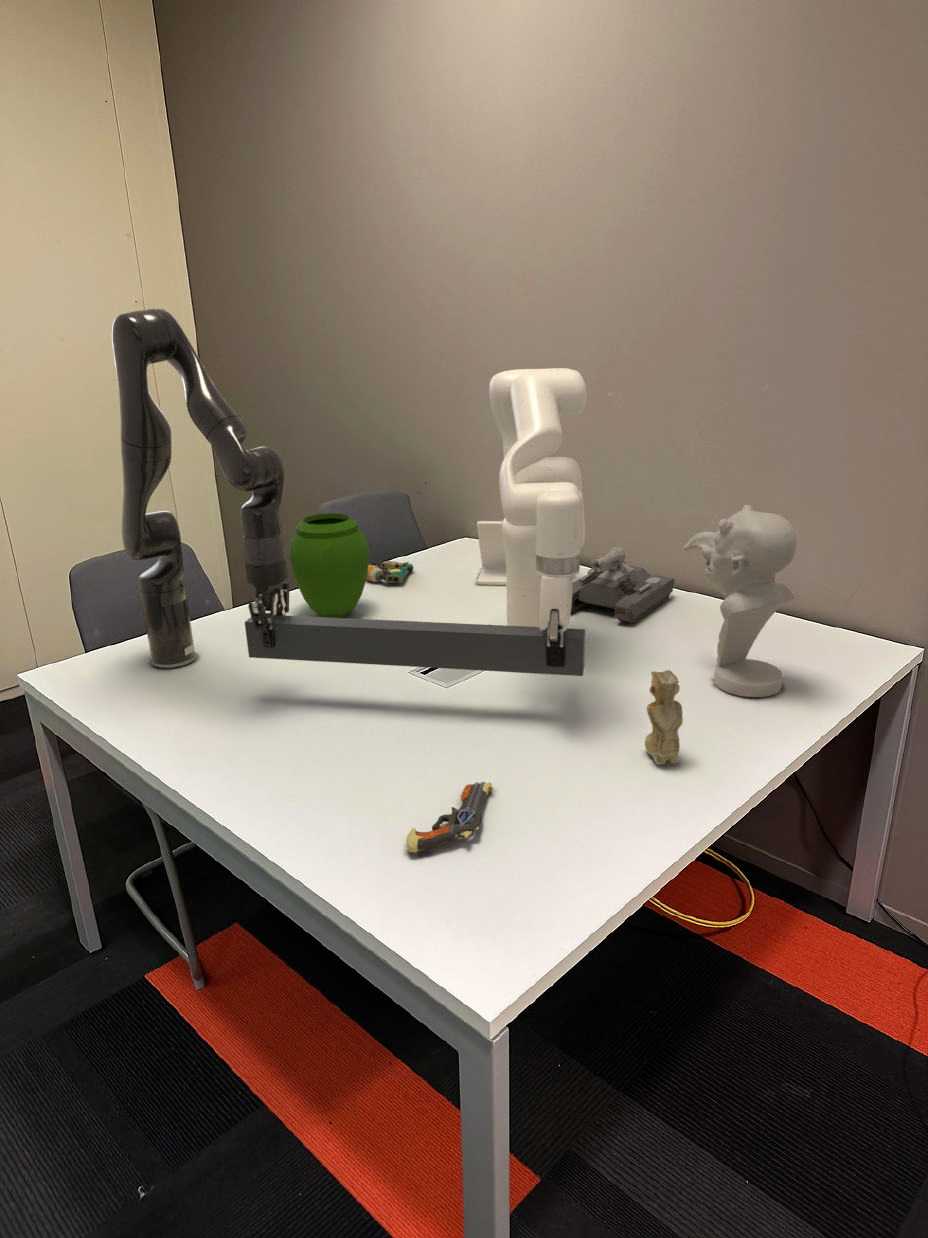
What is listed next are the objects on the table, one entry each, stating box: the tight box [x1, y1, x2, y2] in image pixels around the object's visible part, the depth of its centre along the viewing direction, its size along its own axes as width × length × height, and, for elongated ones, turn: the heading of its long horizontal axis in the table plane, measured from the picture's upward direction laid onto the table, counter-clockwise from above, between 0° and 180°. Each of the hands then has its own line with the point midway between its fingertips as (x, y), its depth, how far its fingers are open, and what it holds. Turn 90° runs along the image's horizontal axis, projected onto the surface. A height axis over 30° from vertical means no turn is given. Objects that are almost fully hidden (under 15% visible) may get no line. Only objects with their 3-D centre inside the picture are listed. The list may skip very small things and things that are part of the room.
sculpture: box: [644, 669, 684, 765], centre depth 141 cm, size 6×7×15 cm
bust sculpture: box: [682, 504, 797, 698], centre depth 167 cm, size 16×24×35 cm, turn 28°
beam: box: [244, 615, 586, 677], centre depth 159 cm, size 64×4×7 cm, turn 79°
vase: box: [288, 512, 370, 618], centre depth 209 cm, size 20×20×24 cm
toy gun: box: [406, 781, 494, 853], centre depth 127 cm, size 3×19×10 cm
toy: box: [571, 546, 676, 624], centre depth 212 cm, size 25×20×15 cm
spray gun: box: [366, 560, 414, 584], centre depth 240 cm, size 4×17×15 cm
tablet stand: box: [476, 520, 507, 586], centre depth 236 cm, size 18×25×17 cm
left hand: (275, 641), depth 164 cm, fingers closed on beam, 4 cm apart
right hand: (556, 659), depth 154 cm, fingers closed on beam, 4 cm apart
